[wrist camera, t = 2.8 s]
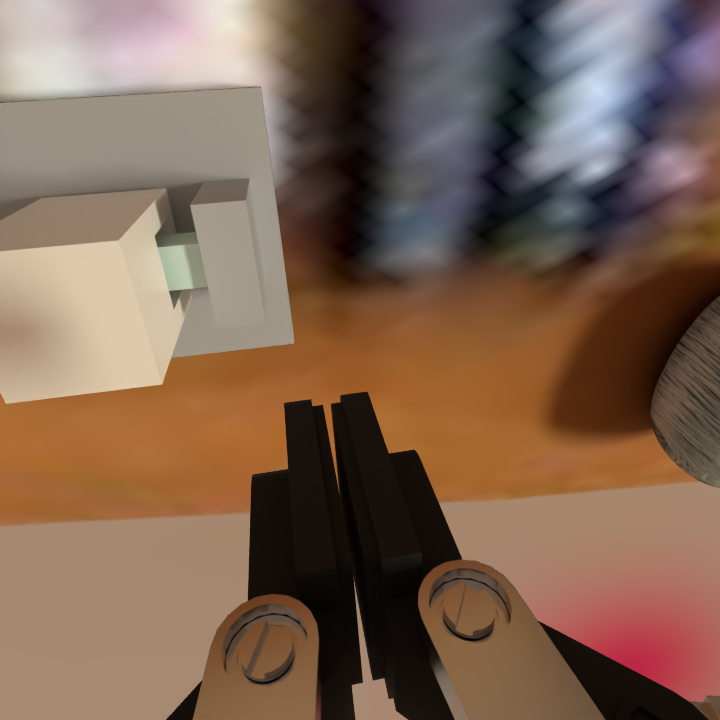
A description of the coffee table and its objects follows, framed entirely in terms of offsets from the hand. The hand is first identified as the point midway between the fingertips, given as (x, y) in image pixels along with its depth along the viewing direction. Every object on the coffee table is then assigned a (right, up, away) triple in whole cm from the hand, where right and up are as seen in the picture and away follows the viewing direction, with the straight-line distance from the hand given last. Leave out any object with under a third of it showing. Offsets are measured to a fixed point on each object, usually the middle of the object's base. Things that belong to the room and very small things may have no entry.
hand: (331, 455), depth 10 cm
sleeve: (-10, +7, +12) cm, 17 cm away
